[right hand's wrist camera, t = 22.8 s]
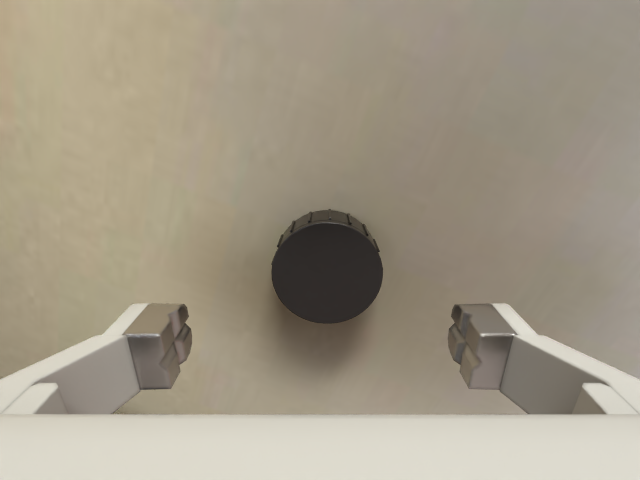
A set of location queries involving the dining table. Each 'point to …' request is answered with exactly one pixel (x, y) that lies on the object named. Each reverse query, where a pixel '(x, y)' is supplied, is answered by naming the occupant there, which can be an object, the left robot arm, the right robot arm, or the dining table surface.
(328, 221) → the lid
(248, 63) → the dining table surface
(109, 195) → the dining table surface
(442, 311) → the dining table surface
